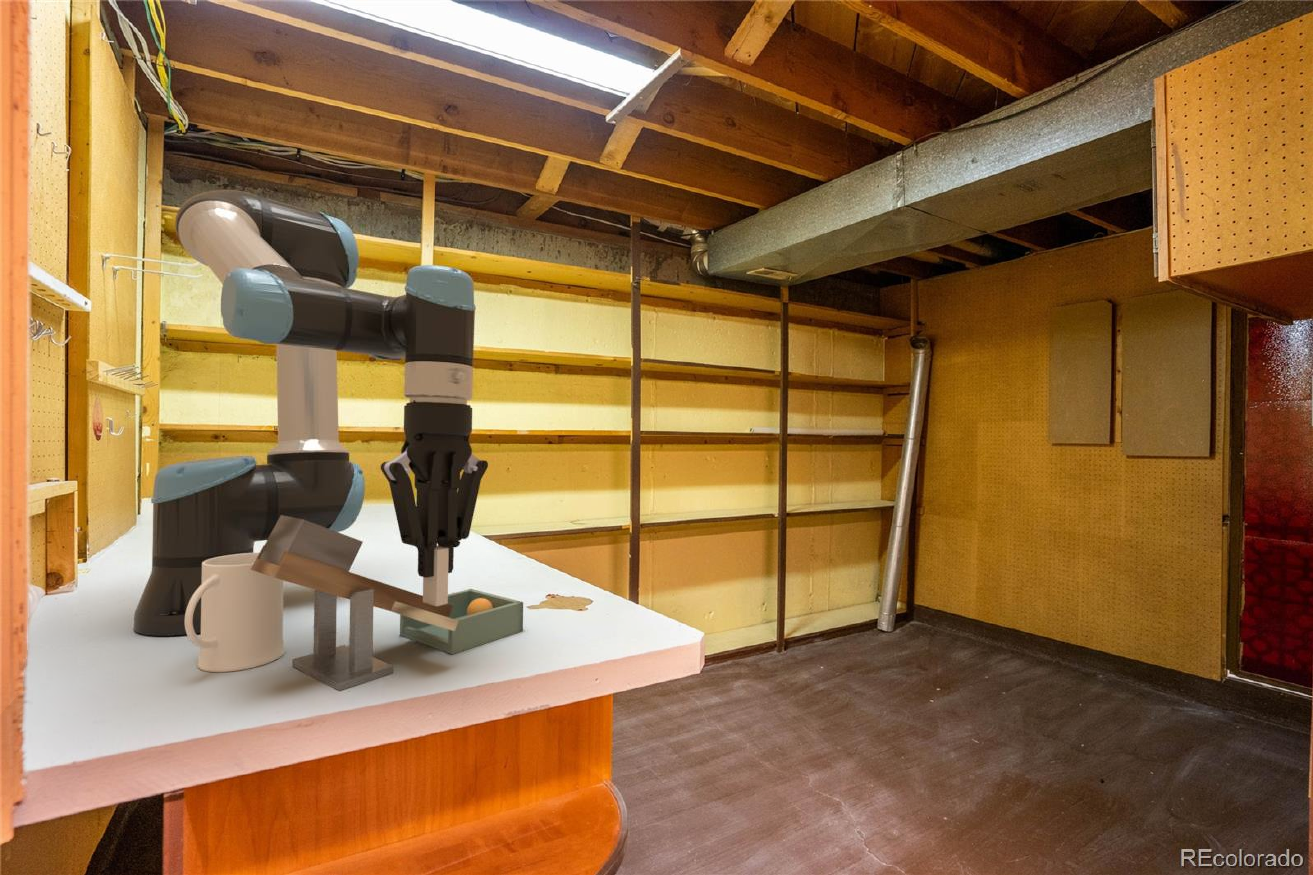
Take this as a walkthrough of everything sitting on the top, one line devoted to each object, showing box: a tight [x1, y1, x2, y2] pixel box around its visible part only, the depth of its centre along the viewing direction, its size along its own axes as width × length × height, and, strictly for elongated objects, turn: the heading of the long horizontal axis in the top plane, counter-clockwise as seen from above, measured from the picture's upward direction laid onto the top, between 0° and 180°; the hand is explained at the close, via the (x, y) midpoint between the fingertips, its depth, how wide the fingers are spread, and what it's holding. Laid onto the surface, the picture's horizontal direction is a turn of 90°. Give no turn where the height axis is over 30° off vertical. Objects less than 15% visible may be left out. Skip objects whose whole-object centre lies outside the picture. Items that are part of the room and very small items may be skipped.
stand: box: [291, 587, 394, 692], centre depth 67 cm, size 11×6×10 cm, turn 54°
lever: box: [250, 515, 458, 631], centre depth 68 cm, size 13×22×6 cm, turn 144°
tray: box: [399, 588, 524, 655], centre depth 80 cm, size 12×11×4 cm
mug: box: [185, 552, 286, 673], centre depth 69 cm, size 12×8×12 cm
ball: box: [467, 598, 493, 616], centre depth 83 cm, size 4×4×4 cm
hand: (435, 602), depth 69 cm, fingers closed
